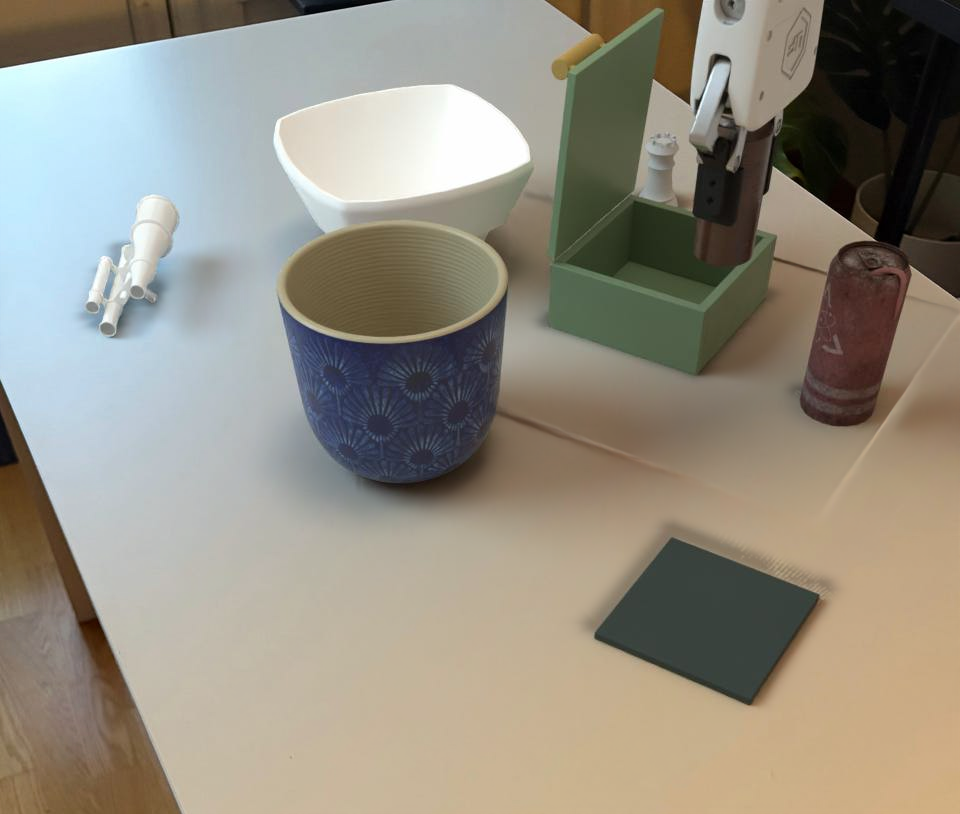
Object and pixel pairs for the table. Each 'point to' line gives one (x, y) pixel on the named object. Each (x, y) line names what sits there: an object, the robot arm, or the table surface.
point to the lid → (601, 126)
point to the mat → (708, 619)
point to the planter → (396, 344)
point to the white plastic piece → (135, 261)
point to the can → (855, 332)
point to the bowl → (405, 159)
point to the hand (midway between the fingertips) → (730, 202)
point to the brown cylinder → (739, 239)
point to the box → (654, 287)
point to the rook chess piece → (660, 169)
